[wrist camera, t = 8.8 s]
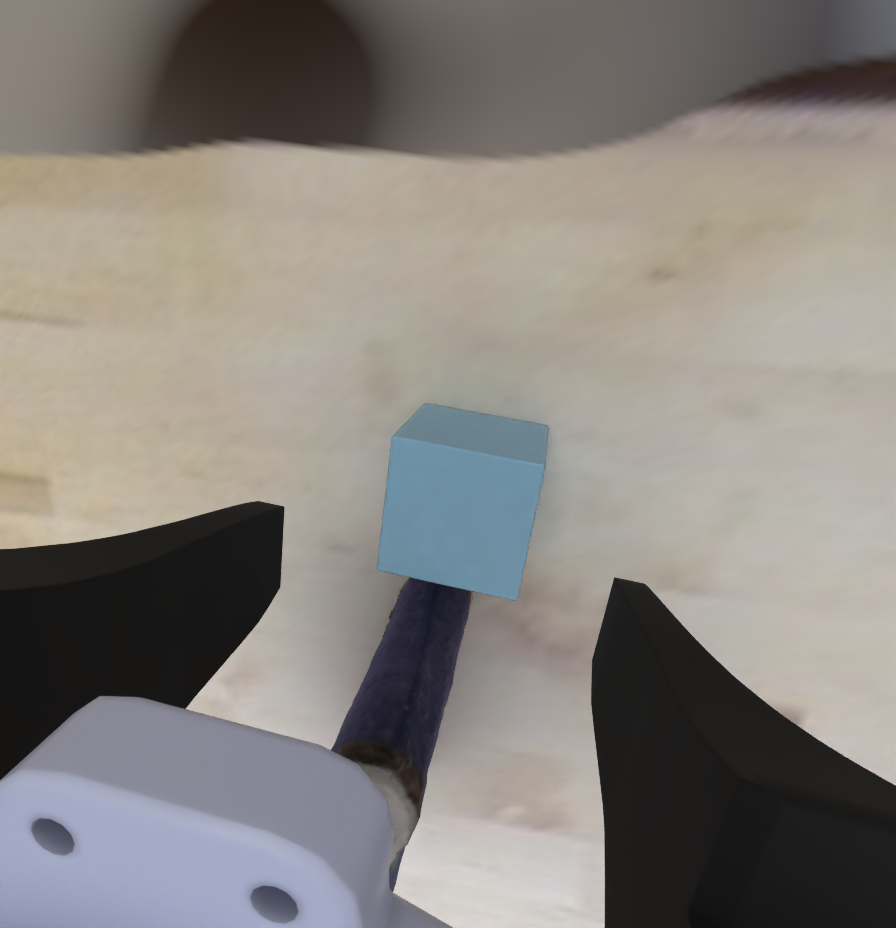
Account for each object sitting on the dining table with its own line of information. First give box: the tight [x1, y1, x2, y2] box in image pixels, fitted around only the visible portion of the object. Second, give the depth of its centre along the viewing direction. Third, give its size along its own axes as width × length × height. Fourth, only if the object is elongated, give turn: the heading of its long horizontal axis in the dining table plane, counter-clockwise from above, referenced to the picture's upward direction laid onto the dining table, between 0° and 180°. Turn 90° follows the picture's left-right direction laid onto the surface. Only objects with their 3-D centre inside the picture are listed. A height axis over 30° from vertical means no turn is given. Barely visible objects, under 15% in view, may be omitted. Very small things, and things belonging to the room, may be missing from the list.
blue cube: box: [377, 403, 549, 601], centre depth 18 cm, size 4×4×4 cm
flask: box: [331, 578, 473, 892], centre depth 17 cm, size 9×3×11 cm, turn 167°
